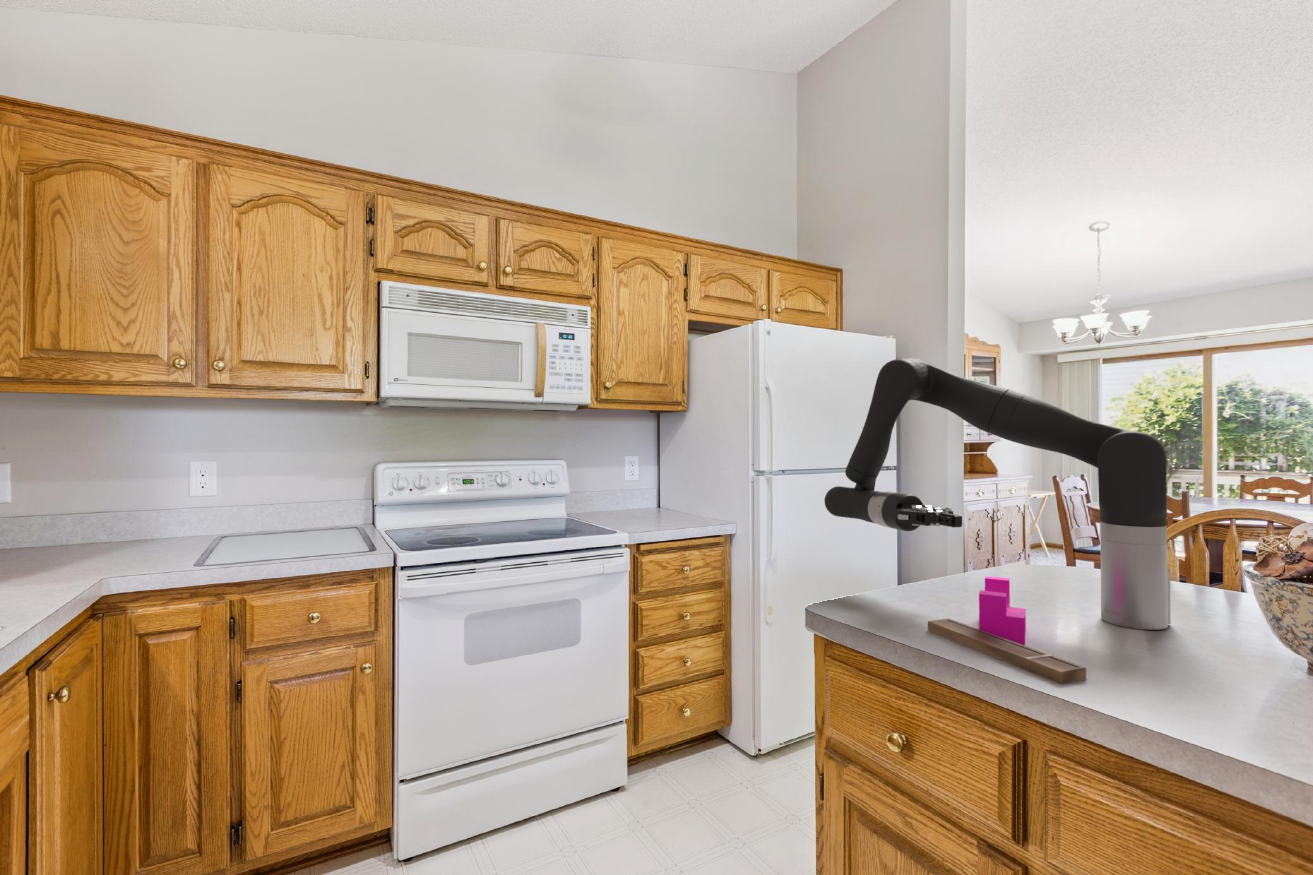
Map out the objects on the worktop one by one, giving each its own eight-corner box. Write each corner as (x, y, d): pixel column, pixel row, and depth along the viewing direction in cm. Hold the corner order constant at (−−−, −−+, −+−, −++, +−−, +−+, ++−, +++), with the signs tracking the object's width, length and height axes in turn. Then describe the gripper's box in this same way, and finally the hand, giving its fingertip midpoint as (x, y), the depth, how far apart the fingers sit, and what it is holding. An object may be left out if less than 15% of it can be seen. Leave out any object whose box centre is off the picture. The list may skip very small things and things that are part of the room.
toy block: (1024, 647, 96) (1024, 598, 96) (979, 640, 100) (979, 593, 100) (1026, 622, 109) (1025, 580, 109) (986, 617, 112) (985, 576, 112)
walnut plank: (949, 628, 106) (949, 618, 106) (1086, 679, 83) (1086, 666, 83) (927, 630, 104) (927, 620, 104) (1060, 684, 81) (1060, 670, 81)
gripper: (868, 493, 128) (929, 502, 112) (921, 491, 133) (987, 500, 116) (868, 529, 128) (929, 543, 112) (920, 527, 133) (987, 540, 116)
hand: (959, 521), depth 114 cm, fingers closed
